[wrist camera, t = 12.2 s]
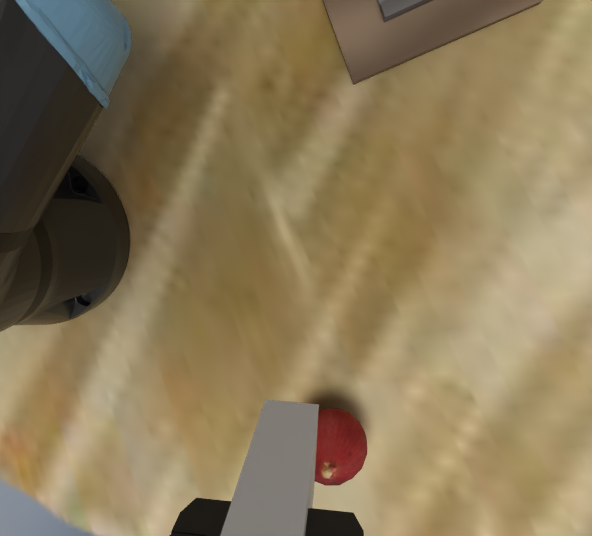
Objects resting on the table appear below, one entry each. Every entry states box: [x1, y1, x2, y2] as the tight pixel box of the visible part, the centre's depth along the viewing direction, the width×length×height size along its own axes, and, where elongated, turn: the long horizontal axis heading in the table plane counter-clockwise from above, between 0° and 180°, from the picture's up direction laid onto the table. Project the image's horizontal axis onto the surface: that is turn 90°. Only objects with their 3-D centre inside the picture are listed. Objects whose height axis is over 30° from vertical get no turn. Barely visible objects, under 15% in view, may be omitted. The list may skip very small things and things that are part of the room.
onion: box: [314, 409, 367, 485], centre depth 42 cm, size 6×6×8 cm
